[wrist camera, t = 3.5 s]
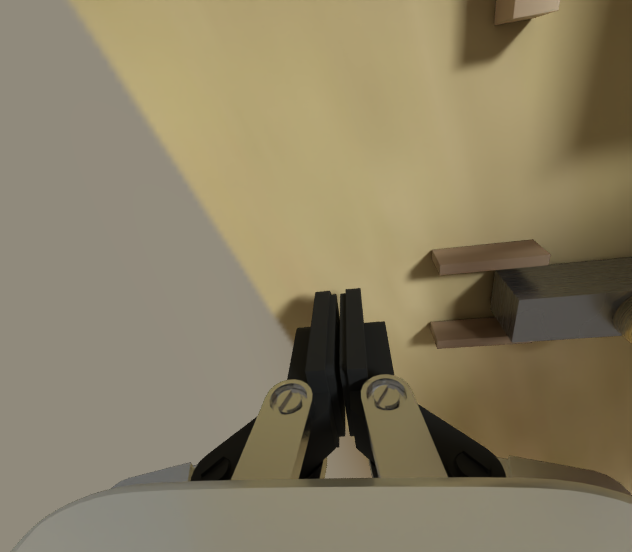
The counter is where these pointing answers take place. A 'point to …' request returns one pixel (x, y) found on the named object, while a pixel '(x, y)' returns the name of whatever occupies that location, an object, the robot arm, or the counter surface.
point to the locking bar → (565, 300)
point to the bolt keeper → (477, 261)
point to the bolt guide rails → (522, 9)
